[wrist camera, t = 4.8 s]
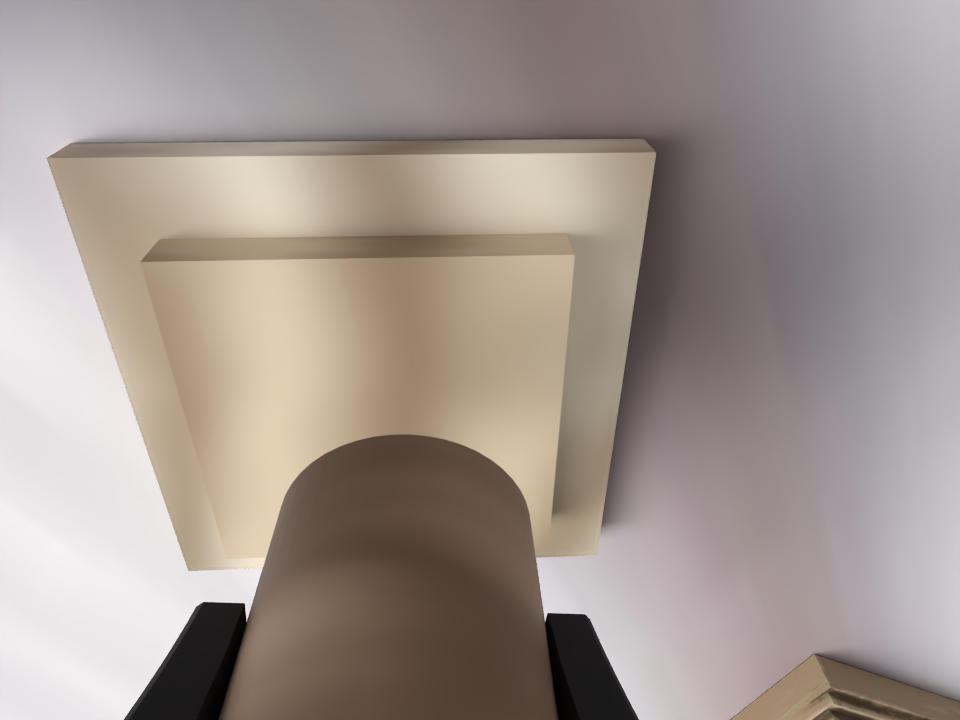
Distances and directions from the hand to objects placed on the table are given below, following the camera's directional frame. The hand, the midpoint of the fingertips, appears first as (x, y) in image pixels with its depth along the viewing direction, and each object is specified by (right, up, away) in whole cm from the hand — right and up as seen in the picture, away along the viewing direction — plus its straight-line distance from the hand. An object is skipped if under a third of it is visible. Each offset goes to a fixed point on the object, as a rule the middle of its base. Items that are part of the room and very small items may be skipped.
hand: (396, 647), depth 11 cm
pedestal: (-2, +4, +10) cm, 11 cm away
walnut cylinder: (0, +1, +2) cm, 2 cm away
